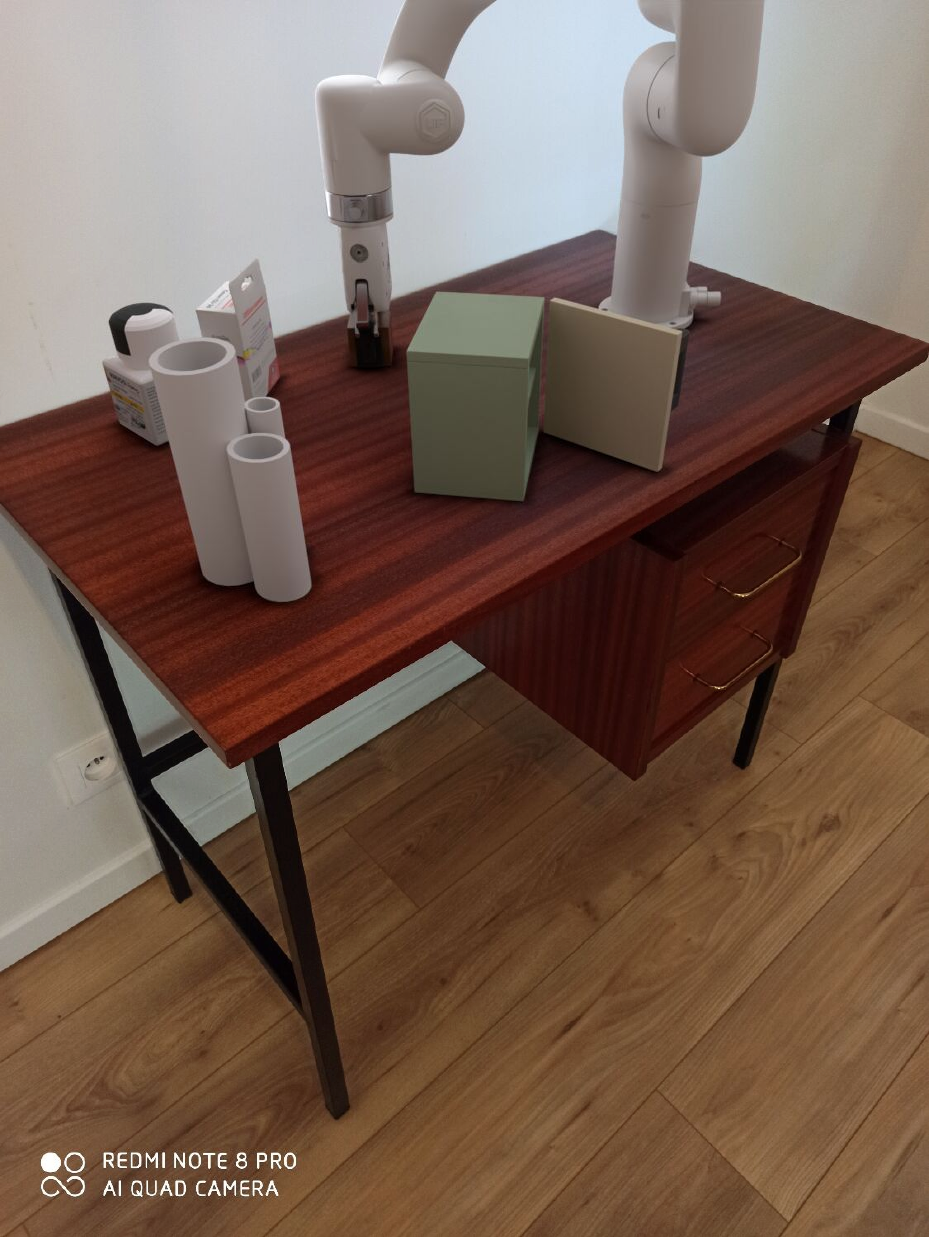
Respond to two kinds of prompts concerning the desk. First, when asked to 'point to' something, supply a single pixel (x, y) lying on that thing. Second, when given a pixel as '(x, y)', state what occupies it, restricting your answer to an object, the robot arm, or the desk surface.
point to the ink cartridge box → (244, 328)
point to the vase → (232, 470)
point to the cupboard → (476, 394)
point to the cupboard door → (612, 381)
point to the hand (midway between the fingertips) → (372, 354)
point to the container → (138, 366)
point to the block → (384, 330)
